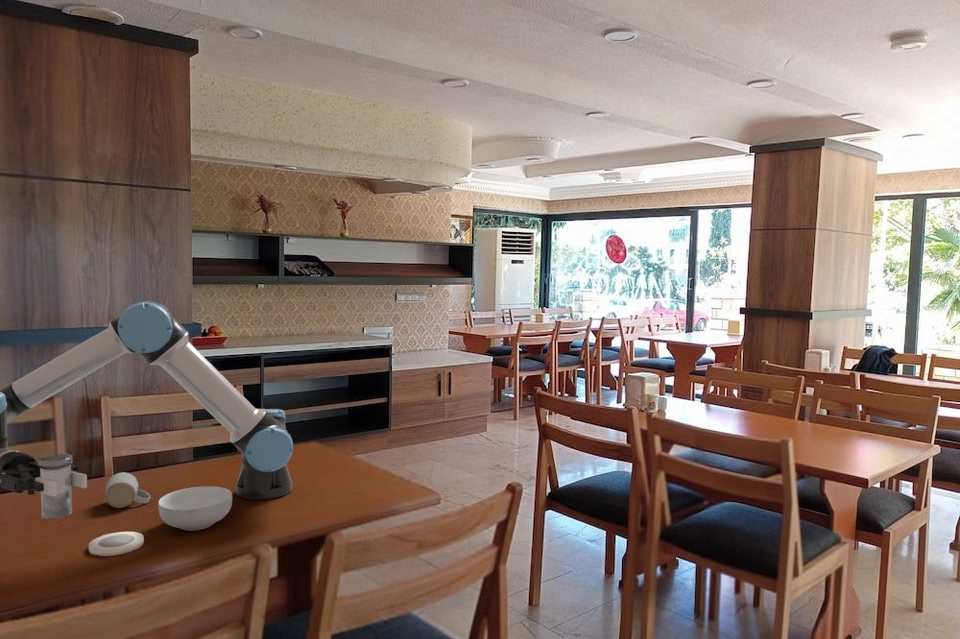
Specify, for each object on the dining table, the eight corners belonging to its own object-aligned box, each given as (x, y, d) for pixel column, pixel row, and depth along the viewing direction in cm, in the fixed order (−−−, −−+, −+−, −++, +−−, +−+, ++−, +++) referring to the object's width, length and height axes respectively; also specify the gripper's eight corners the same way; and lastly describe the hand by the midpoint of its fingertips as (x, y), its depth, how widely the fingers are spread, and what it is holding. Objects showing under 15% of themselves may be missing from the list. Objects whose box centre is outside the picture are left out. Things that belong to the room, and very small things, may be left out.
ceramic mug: (104, 511, 181) (104, 481, 180) (106, 501, 188) (106, 473, 187) (150, 506, 185) (150, 477, 185) (150, 497, 193) (150, 469, 192)
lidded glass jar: (80, 509, 151) (78, 454, 150) (62, 519, 145) (60, 462, 144) (52, 508, 151) (49, 453, 150) (32, 519, 145) (30, 461, 144)
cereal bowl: (182, 511, 182) (181, 484, 181) (244, 514, 180) (243, 487, 179) (144, 536, 165) (143, 506, 164) (212, 540, 163) (211, 510, 163)
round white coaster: (152, 537, 164) (152, 531, 164) (128, 556, 153) (127, 550, 153) (106, 536, 164) (106, 530, 164) (78, 555, 153) (77, 549, 153)
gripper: (54, 474, 165) (113, 491, 153) (-36, 495, 149) (23, 516, 137) (53, 442, 164) (112, 457, 153) (-38, 461, 149) (21, 479, 137)
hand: (70, 485), depth 145 cm, fingers closed on lidded glass jar, 5 cm apart
